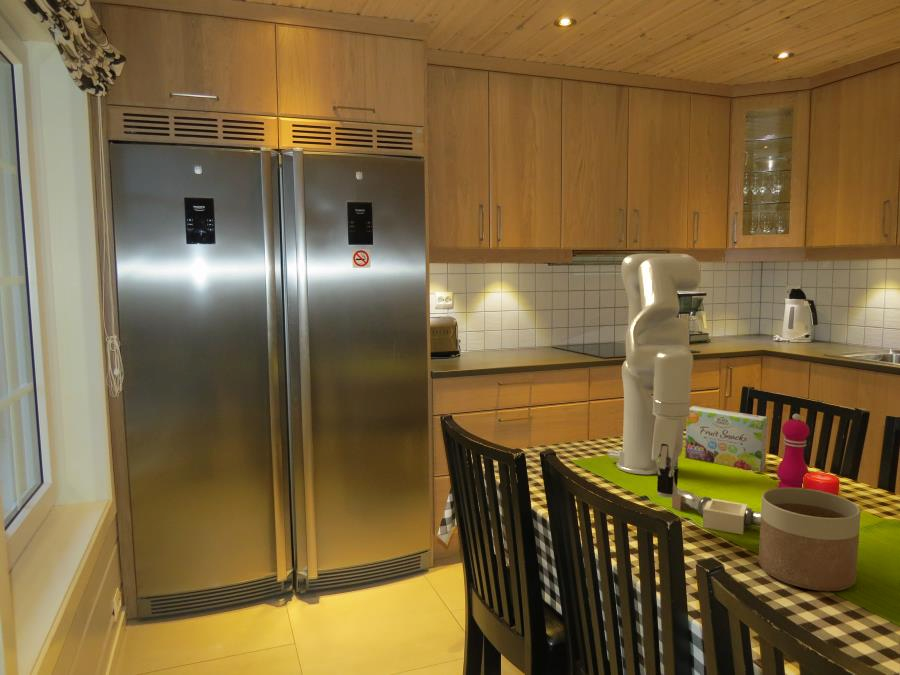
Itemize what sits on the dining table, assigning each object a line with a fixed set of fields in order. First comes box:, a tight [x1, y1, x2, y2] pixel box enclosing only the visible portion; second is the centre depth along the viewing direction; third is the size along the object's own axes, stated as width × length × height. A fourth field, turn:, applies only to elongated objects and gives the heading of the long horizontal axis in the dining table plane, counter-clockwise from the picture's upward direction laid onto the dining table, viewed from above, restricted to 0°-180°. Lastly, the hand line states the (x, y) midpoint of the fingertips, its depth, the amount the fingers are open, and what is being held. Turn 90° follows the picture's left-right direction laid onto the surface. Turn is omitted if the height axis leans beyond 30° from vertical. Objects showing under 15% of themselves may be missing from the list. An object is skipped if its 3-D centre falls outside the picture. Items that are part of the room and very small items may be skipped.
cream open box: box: [702, 498, 748, 535], centre depth 144 cm, size 8×8×4 cm
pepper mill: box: [776, 413, 810, 488], centre depth 164 cm, size 7×7×20 cm
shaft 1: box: [671, 488, 712, 515], centre depth 152 cm, size 9×4×4 cm, turn 30°
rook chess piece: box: [656, 459, 679, 499], centre depth 143 cm, size 4×4×8 cm
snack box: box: [684, 405, 769, 473], centre depth 188 cm, size 21×6×15 cm, turn 49°
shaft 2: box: [744, 507, 761, 528], centre depth 140 cm, size 9×4×4 cm, turn 60°
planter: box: [758, 487, 862, 592], centre depth 121 cm, size 16×16×14 cm
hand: (667, 488), depth 144 cm, fingers closed on rook chess piece, 4 cm apart
